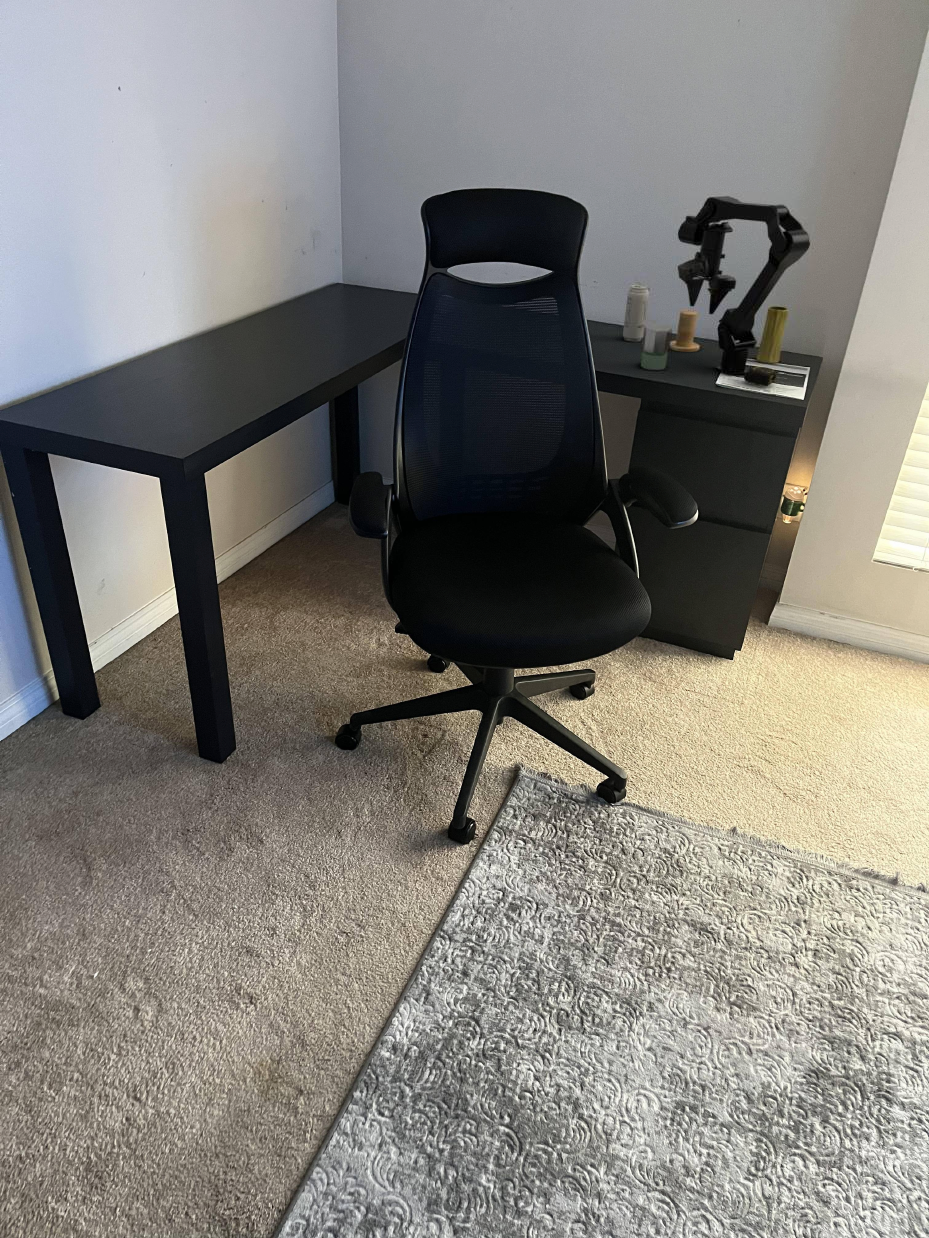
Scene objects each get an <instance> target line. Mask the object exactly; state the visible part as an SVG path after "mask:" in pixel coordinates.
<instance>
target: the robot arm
mask: <svg viewBox="0 0 929 1238" xmlns="http://www.w3.org/2000/svg"><path fill="white" fill-rule="evenodd" d="M730 220H741V221H751V222H762V223H765V225H766V228H767V238H768V239H769V241H770V243H771V245H770V247H769V249H768V260H767V262H766V263H765V264H764V266H763V268H762V270H761V271H760V272H759V274H758V276H757V277H756V279H755V280H754V281H753V283H752V285H750V288H749V290H748V291H747V293H745V295H744V297H743V299H742V300H741V302H740V303H739V304H738V306H736V307H733V308H727V309H726V310H725V311H724V313H723V315H722V317H721V318H720V319H719V320H718V325H717V328H716V330H717V338H718V348H719V349H720V350H722V356H721V361H720V366H715V369H716V370H717V371H719V372H721V373H723V374H724V375H725V374H726V375H728V376H737V375H745V373H746V372H747V371H748V370H747V369H746V366H747V365H746V364H747V360H748V356H749V349H750V350H751V349H755V347H756V345H757V344H758V343H757V342H758V340H757V337H756V336H755V334H754V331H753V329H754V326H755V319H756V318H755V316H756V314H757V313H758V311H759V310H760V308H761V307H762V305H763V304H764V303H765V301H766V299H767V298H768V297H769V295H770V294H771V292H772V291H773V290H774V288H775V286H776V284H777V283H778V282H779V280H780V279H781V277H782V276H783V274H784V273H785V272H786V271H787V270H788V268H790V267H791V266H792V265H794V264H795V263H797V262H798V261H799V260H801V258H802V257H803V256H804V255H805V254H806V253H807V252H808V250H809V248H810V247H811V242H810V241H811V239H810V234H809V233H808V232H807V231H806V230H805V229H804V227H803V225H802V223H801V222H800V221H799V220H798V219H797V218H795V216H794V215H793V214H792V213H791V212H790V210H789V208H788V207H787V206H786V205H784V204H767V203H753V202H743V201H740V200H739V199H738V198H735V197H732V196H730V195H723V196H710V197H707V198H706V199H705V201H704V203H703V205H702V207H701V208H700V210H699V211H698V212H697V214H696V215H686V216H685V220H683V222H682V223H681V224H680V227H679V228H678V231H677V238H678V240H679V242H680V243H684V244H688V245H691V246H697V247H700V248H699V251H696V252H695V255H694V258H693V259H689V260H687V261H685V262H683V263H681V264H678V265H677V271H678V278H679V279H680V280H681V281H683V283H684V284H685V285H686V288H687V293H688V301H689V306H690V307H695V305H696V304H697V301H698V298H699V295H700V294H701V293H700V292H701V290H702V287H703V285H704V282H705V281H706V282H708V284H707V285H708V287H707V291H708V292H709V295H710V296H709V305H708V306H709V307H708V314H709V315H714V313H715V312H716V311H717V309H718V308H719V306H720V305H721V303H722V302H723V300H724V299H725V298H726V296H727V295H728V294H729V293H730V292H732V290H735V289H736V285H737V279H736V278H735V277H734V276H731V275H728V274H723V270H721V269H720V268H721V263H722V259H725V258H726V254H725V253H723V251H724V245H725V239H726V234H729V233H733V231H734V229H733V227H732V226H731V225H730V224H729V221H730ZM722 221H724V222H722ZM720 222H721V223H720ZM782 229H783V230H782ZM737 341H738V342H737Z"/></svg>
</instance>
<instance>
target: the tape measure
mask: <svg viewBox="0 0 929 1238" xmlns="http://www.w3.org/2000/svg"><path fill="white" fill-rule="evenodd" d="M743 375H744V376H743V379H744V381H745V382H746V383H750V384H752V385H754V386H763V387H769V386H770V385H772V384H773V383H774V381H775V380H776V378H777V374H776V373H775V370H774V369H773V368H770V367H766V366H751V367H749V369H748V370H747V372H746V373H745V374H743Z"/></svg>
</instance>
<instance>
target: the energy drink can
mask: <svg viewBox="0 0 929 1238" xmlns="http://www.w3.org/2000/svg"><path fill="white" fill-rule="evenodd" d="M648 288H649V287H648V286H647V285H645V284H644V285H643V284H632V285H630V288H629V290H628V291H627V296H626V306H625V314H624V323H623V331H622V336H623V339H624V340H625V341H627V342H640V341H642V339H643V332H644V326H645V325H646V320H647V319H646V318H647V310H648V303H649V296H650V291H649V290H648Z"/></svg>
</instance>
